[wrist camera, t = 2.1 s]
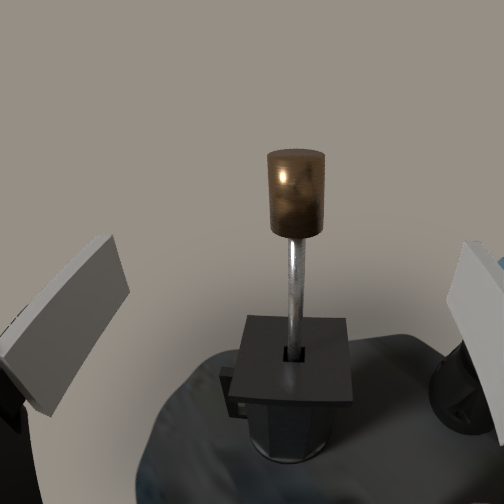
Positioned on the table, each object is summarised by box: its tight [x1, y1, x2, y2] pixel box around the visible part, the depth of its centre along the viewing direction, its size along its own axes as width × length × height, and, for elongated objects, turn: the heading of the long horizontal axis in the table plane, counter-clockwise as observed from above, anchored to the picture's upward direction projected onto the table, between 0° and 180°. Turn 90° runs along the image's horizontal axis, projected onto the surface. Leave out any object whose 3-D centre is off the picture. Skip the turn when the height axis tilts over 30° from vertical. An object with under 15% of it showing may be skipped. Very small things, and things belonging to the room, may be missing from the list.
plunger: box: [267, 149, 325, 363], centre depth 24 cm, size 7×7×22 cm
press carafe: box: [219, 315, 353, 464], centre depth 32 cm, size 13×10×16 cm
